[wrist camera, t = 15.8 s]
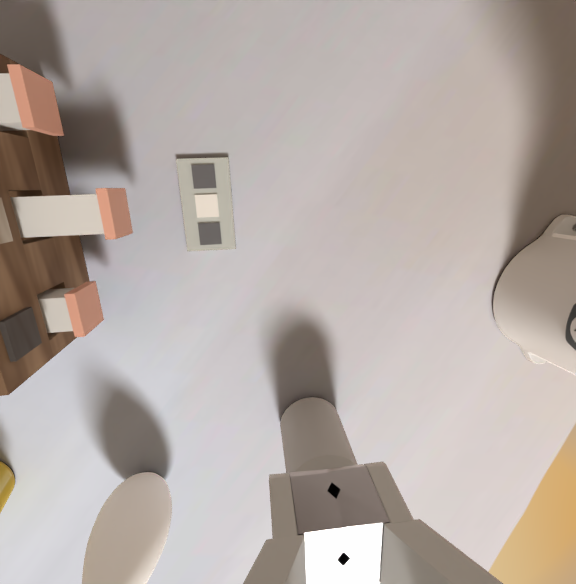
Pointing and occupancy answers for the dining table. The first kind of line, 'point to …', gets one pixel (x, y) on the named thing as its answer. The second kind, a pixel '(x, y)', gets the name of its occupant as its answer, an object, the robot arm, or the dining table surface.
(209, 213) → the card
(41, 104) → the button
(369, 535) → the robot arm
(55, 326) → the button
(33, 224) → the button middle
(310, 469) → the can
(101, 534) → the cream tall ovoid
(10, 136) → the console
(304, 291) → the dining table surface
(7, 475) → the plant pot
